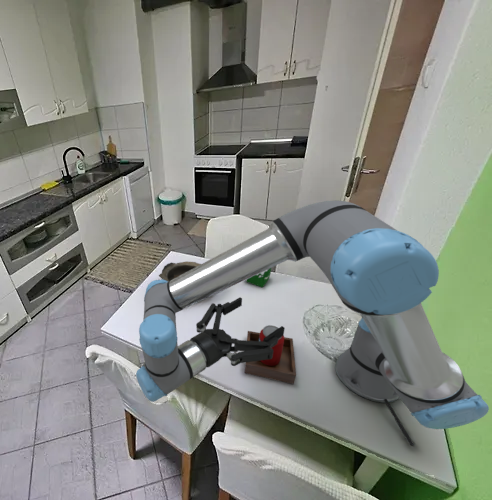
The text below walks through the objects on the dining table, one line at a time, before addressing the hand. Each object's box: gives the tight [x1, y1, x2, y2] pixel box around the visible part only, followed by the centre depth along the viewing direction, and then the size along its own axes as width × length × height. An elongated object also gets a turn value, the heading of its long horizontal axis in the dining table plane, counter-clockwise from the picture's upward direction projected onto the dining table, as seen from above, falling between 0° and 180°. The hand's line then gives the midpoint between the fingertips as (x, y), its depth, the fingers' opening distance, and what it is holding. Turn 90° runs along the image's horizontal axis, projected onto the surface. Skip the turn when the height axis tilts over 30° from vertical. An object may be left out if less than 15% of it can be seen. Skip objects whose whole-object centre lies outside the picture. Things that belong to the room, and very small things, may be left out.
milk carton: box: [246, 268, 272, 288], centre depth 117 cm, size 9×9×20 cm
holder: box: [244, 330, 297, 385], centre depth 87 cm, size 14×14×4 cm
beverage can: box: [259, 324, 285, 366], centre depth 85 cm, size 7×7×12 cm
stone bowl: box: [158, 261, 202, 282], centre depth 121 cm, size 25×25×9 cm
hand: (260, 314), depth 74 cm, fingers open, 13 cm apart
